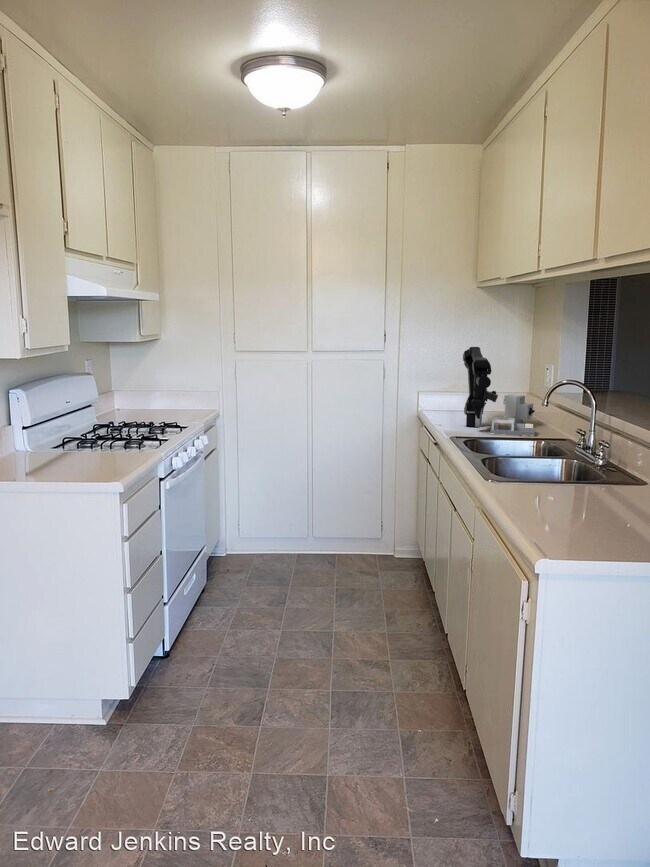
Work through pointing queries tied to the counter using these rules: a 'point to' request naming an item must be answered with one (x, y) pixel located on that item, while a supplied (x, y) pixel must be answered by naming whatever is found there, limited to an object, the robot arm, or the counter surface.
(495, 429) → the breaker panel
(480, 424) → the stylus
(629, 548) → the counter surface
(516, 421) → the circuit breaker
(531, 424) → the rocker switch
